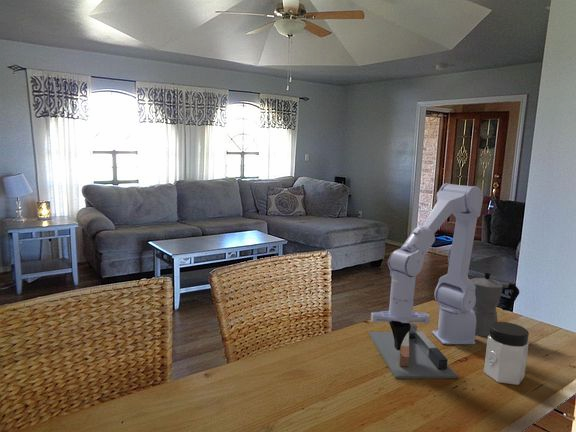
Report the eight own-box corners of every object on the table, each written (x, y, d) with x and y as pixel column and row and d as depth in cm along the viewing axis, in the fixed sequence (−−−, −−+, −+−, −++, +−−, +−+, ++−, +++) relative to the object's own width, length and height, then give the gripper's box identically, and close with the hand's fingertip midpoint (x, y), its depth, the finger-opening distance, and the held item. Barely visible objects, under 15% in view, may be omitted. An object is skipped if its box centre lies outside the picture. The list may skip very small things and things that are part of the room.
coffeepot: (457, 332, 127) (464, 273, 124) (457, 321, 136) (462, 265, 133) (516, 342, 122) (524, 281, 119) (511, 329, 131) (518, 272, 128)
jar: (476, 368, 107) (481, 322, 105) (502, 364, 109) (508, 319, 107) (504, 387, 98) (510, 338, 96) (532, 383, 101) (538, 334, 99)
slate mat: (368, 334, 124) (368, 332, 124) (419, 334, 125) (419, 332, 125) (395, 378, 100) (395, 376, 100) (457, 377, 102) (457, 375, 102)
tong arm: (400, 331, 124) (401, 321, 124) (416, 334, 123) (417, 324, 123) (399, 365, 105) (400, 353, 104) (417, 368, 104) (418, 356, 103)
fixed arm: (414, 339, 119) (414, 331, 119) (421, 339, 120) (422, 331, 119) (438, 369, 104) (439, 359, 103) (446, 369, 104) (447, 359, 103)
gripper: (377, 302, 103) (373, 355, 106) (436, 303, 105) (431, 356, 107) (370, 292, 110) (366, 342, 112) (425, 293, 112) (420, 343, 114)
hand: (397, 348), depth 110 cm, fingers closed, pressing on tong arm
